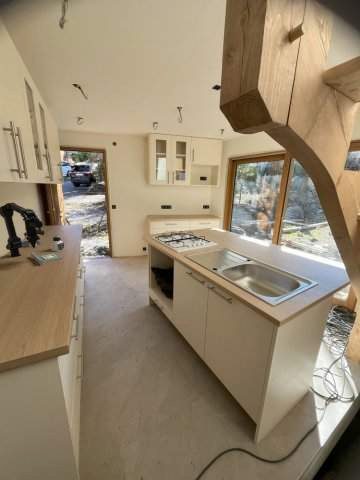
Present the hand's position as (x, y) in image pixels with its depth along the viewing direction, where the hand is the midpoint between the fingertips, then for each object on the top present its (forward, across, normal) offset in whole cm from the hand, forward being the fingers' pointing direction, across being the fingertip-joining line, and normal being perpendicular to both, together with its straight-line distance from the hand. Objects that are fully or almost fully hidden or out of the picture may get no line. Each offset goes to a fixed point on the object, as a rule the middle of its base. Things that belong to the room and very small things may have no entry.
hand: (33, 246), depth 156 cm
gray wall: (+11, -1, -1) cm, 11 cm away
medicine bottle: (+11, +18, -21) cm, 30 cm away
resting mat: (+11, 0, -10) cm, 15 cm away
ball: (-2, 0, 0) cm, 2 cm away
